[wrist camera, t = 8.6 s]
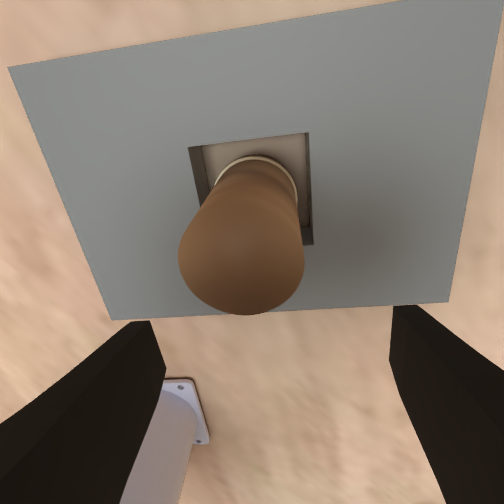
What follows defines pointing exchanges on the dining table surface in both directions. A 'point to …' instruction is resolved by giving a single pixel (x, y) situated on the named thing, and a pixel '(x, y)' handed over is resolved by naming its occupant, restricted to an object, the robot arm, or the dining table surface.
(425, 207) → the hole board
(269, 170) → the walnut peg
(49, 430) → the robot arm
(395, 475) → the dining table surface
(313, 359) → the dining table surface
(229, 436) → the dining table surface
